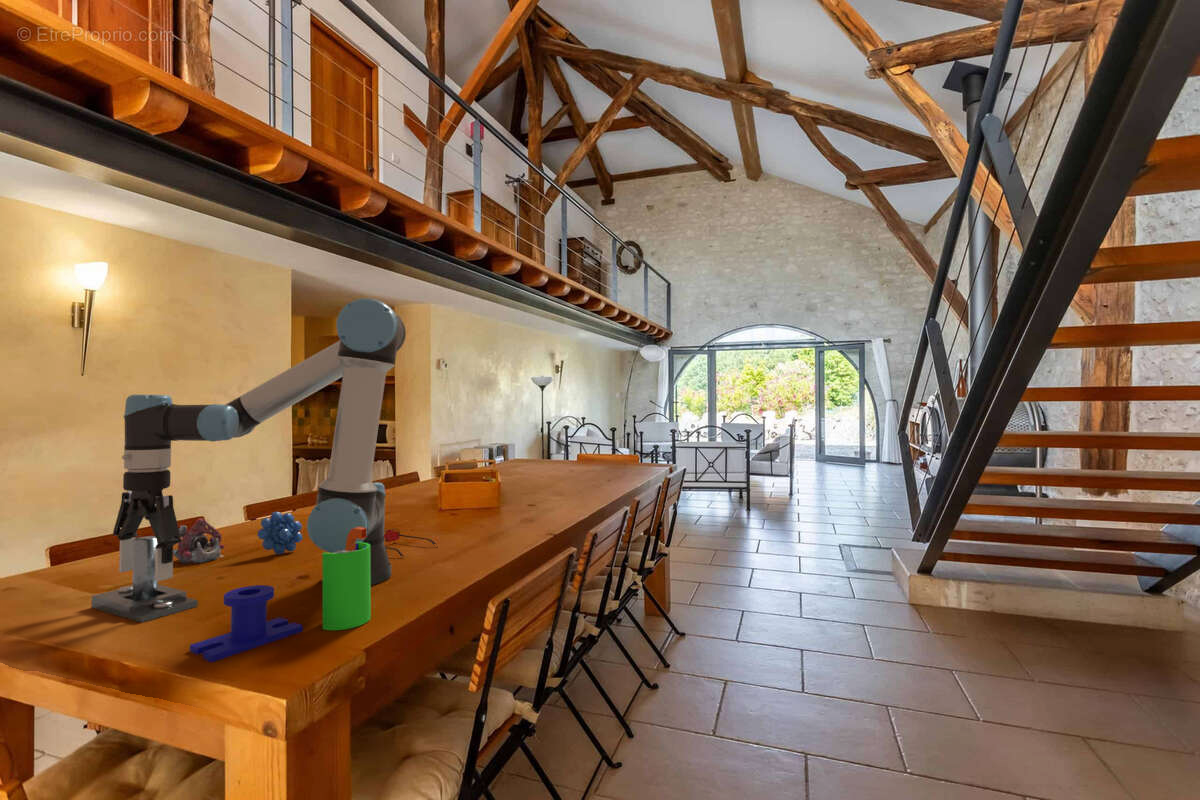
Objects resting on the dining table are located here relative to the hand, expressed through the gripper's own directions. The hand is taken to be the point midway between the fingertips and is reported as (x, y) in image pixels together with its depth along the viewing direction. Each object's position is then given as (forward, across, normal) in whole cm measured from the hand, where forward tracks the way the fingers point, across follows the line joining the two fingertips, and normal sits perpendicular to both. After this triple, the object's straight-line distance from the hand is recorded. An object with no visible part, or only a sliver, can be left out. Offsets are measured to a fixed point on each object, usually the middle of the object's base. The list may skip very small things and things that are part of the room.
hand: (145, 574), depth 115 cm
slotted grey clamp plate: (+7, 0, 0) cm, 7 cm away
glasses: (+7, +12, +58) cm, 60 cm away
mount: (+7, +35, -1) cm, 36 cm away
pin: (+7, 0, 0) cm, 7 cm away
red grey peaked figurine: (+7, -28, +26) cm, 39 cm away
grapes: (+7, -13, +39) cm, 42 cm away
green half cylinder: (+7, +43, +13) cm, 45 cm away
